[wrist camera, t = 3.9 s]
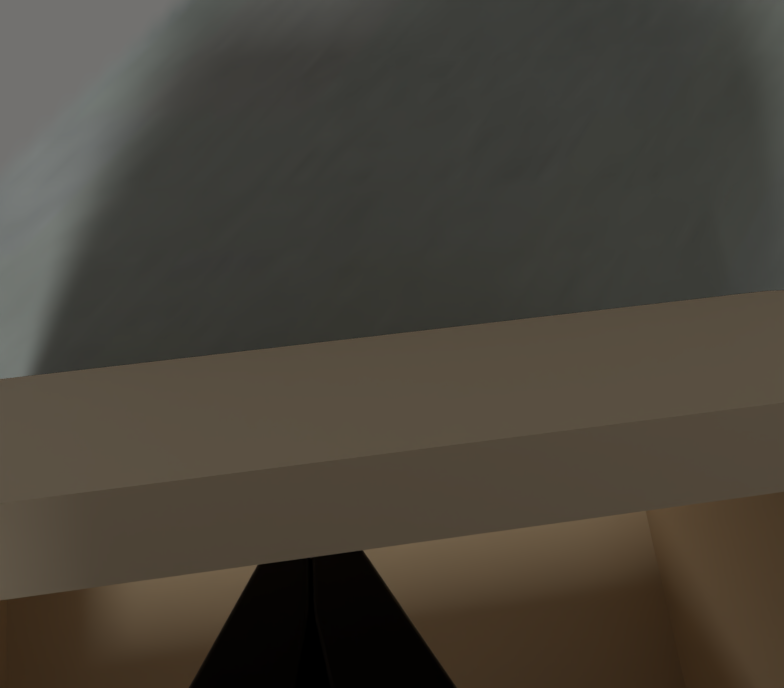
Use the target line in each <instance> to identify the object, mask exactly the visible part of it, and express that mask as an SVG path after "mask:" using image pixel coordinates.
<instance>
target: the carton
mask: <svg viewBox="0 0 784 688" xmlns="http://www.w3.org/2000/svg"><path fill="white" fill-rule="evenodd" d="M363 551H364V552H365V554H366V555H367V557H368V558H369V560H370V561H371V562H372V564H373V565H374V567H375V568H376V570H377V571H378V573H379V574H380V576H381V577H382V579H383V580H384V581H385V583H386V584H387V586H388V587H389V589H390V590H391V592H392V593H393V595H394V596H395V598H396V599H397V600H398V602H399V603H400V605H401V606H402V608H403V609H404V611H405V612H406V614H407V615H408V617H409V618H410V619H411V621H412V622H413V624H414V625H415V627H416V628H417V630H418V631H419V633H420V634H421V636H422V637H423V638H424V640H425V641H426V643H427V644H428V646H429V647H430V649H431V650H432V652H433V653H434V655H435V656H436V657H437V659H438V660H439V662H440V663H441V665H442V666H443V668H444V669H445V671H446V672H447V674H448V675H449V676H450V678H451V679H452V681H453V682H454V684H455V685H456V687H457V688H784V492H779V493H771V494H764V495H757V496H750V497H743V498H735V499H728V500H721V501H714V502H707V503H699V504H692V505H685V506H678V507H670V508H663V509H656V510H649V511H642V512H634V513H627V514H620V515H613V516H606V517H598V518H591V519H584V520H577V521H570V522H562V523H555V524H548V525H541V526H533V527H526V528H519V529H512V530H505V531H497V532H490V533H483V534H476V535H469V536H461V537H454V538H447V539H440V540H433V541H425V542H418V543H411V544H404V545H396V546H389V547H382V548H375V549H368V550H363ZM256 567H257V565H252V566H245V567H238V568H231V569H223V570H216V571H209V572H202V573H195V574H187V575H180V576H173V577H166V578H159V579H151V580H144V581H137V582H130V583H122V584H115V585H108V586H101V587H94V588H86V589H79V590H72V591H65V592H58V593H50V594H43V595H36V596H29V597H22V598H14V599H7V600H0V688H189V686H190V684H191V683H192V681H193V679H194V677H195V676H196V674H197V672H198V670H199V668H200V667H201V665H202V663H203V661H204V659H205V658H206V656H207V654H208V652H209V651H210V649H211V647H212V645H213V643H214V642H215V640H216V638H217V636H218V634H219V633H220V631H221V629H222V627H223V626H224V624H225V622H226V620H227V618H228V617H229V615H230V613H231V611H232V609H233V608H234V606H235V604H236V602H237V601H238V599H239V597H240V595H241V593H242V592H243V590H244V588H245V586H246V584H247V583H248V581H249V579H250V577H251V576H252V574H253V572H254V570H255V568H256Z"/></svg>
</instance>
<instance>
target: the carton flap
mask: <svg viewBox="0 0 784 688" xmlns="http://www.w3.org/2000/svg"><path fill="white" fill-rule="evenodd" d="M779 492H784V290H777V291H761V292H752V293H743V294H735V295H726V296H717V297H709V298H700V299H691V300H683V301H674V302H665V303H657V304H648V305H639V306H631V307H622V308H613V309H605V310H596V311H587V312H579V313H570V314H561V315H553V316H544V317H535V318H527V319H518V320H509V321H501V322H492V323H483V324H475V325H466V326H457V327H449V328H440V329H431V330H423V331H414V332H405V333H397V334H388V335H379V336H371V337H362V338H353V339H345V340H336V341H327V342H319V343H310V344H301V345H293V346H284V347H275V348H267V349H258V350H249V351H241V352H232V353H223V354H215V355H206V356H197V357H189V358H180V359H171V360H163V361H154V362H145V363H137V364H128V365H119V366H111V367H102V368H93V369H84V370H76V371H67V372H58V373H50V374H41V375H32V376H24V377H15V378H6V379H0V600H7V599H14V598H22V597H29V596H36V595H43V594H50V593H58V592H65V591H72V590H79V589H86V588H94V587H101V586H108V585H115V584H122V583H130V582H137V581H144V580H151V579H159V578H166V577H173V576H180V575H187V574H195V573H202V572H209V571H216V570H223V569H231V568H238V567H245V566H252V565H259V564H267V563H274V562H281V561H288V560H296V559H303V558H310V557H317V556H324V555H332V554H339V553H346V552H353V551H360V550H368V549H375V548H382V547H389V546H396V545H404V544H411V543H418V542H425V541H433V540H440V539H447V538H454V537H461V536H469V535H476V534H483V533H490V532H497V531H505V530H512V529H519V528H526V527H533V526H541V525H548V524H555V523H562V522H570V521H577V520H584V519H591V518H598V517H606V516H613V515H620V514H627V513H634V512H642V511H649V510H656V509H663V508H670V507H678V506H685V505H692V504H699V503H707V502H714V501H721V500H728V499H735V498H743V497H750V496H757V495H764V494H771V493H779Z"/></svg>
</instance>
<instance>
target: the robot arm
mask: <svg viewBox="0 0 784 688" xmlns="http://www.w3.org/2000/svg"><path fill="white" fill-rule="evenodd" d="M189 688H457V687H456V685H455V684H454V682H453V681H452V679H451V678H450V676H449V675H448V674H447V672H446V671H445V669H444V668H443V666H442V665H441V663H440V662H439V660H438V659H437V657H436V656H435V655H434V653H433V652H432V650H431V649H430V647H429V646H428V644H427V643H426V641H425V640H424V638H423V637H422V636H421V634H420V633H419V631H418V630H417V628H416V627H415V625H414V624H413V622H412V621H411V619H410V618H409V617H408V615H407V614H406V612H405V611H404V609H403V608H402V606H401V605H400V603H399V602H398V600H397V599H396V598H395V596H394V595H393V593H392V592H391V590H390V589H389V587H388V586H387V584H386V583H385V581H384V580H383V579H382V577H381V576H380V574H379V573H378V571H377V570H376V568H375V567H374V565H373V564H372V562H371V561H370V560H369V558H368V557H367V555H366V554H365V552H364V551H363V550H360V551H353V552H346V553H339V554H332V555H324V556H317V557H310V558H303V559H296V560H288V561H281V562H274V563H267V564H259V565H257V567H256V568H255V570H254V572H253V574H252V576H251V577H250V579H249V581H248V583H247V584H246V586H245V588H244V590H243V592H242V593H241V595H240V597H239V599H238V601H237V602H236V604H235V606H234V608H233V609H232V611H231V613H230V615H229V617H228V618H227V620H226V622H225V624H224V626H223V627H222V629H221V631H220V633H219V634H218V636H217V638H216V640H215V642H214V643H213V645H212V647H211V649H210V651H209V652H208V654H207V656H206V658H205V659H204V661H203V663H202V665H201V667H200V668H199V670H198V672H197V674H196V676H195V677H194V679H193V681H192V683H191V684H190V686H189Z"/></svg>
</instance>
